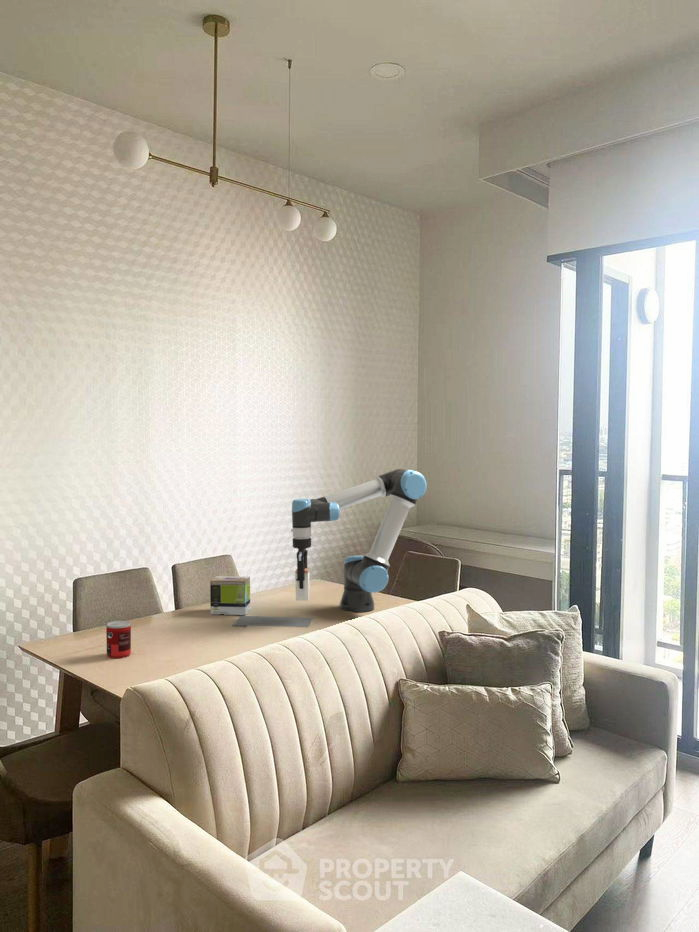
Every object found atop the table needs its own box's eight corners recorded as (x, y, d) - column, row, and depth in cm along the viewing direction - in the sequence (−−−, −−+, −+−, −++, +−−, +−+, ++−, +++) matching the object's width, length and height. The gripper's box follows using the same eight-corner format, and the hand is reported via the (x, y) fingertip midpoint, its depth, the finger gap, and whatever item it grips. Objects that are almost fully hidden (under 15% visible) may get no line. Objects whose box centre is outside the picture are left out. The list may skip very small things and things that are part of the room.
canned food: (109, 652, 249) (109, 620, 249) (133, 651, 250) (132, 620, 249) (103, 659, 242) (103, 626, 241) (128, 658, 242) (128, 626, 242)
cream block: (309, 597, 292) (309, 568, 292) (308, 600, 288) (307, 570, 287) (297, 597, 293) (297, 568, 292) (295, 600, 288) (295, 570, 287)
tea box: (250, 610, 309) (250, 576, 308) (244, 616, 299) (245, 580, 298) (216, 608, 310) (216, 575, 310) (209, 614, 300) (209, 579, 300)
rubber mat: (312, 619, 295) (312, 617, 295) (308, 628, 281) (308, 627, 281) (240, 616, 297) (240, 615, 297) (232, 626, 283) (232, 624, 283)
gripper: (295, 534, 298) (297, 589, 299) (289, 541, 280) (290, 600, 281) (313, 534, 297) (314, 589, 299) (308, 541, 279) (309, 600, 281)
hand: (302, 594), depth 290 cm, fingers closed on cream block, 5 cm apart
